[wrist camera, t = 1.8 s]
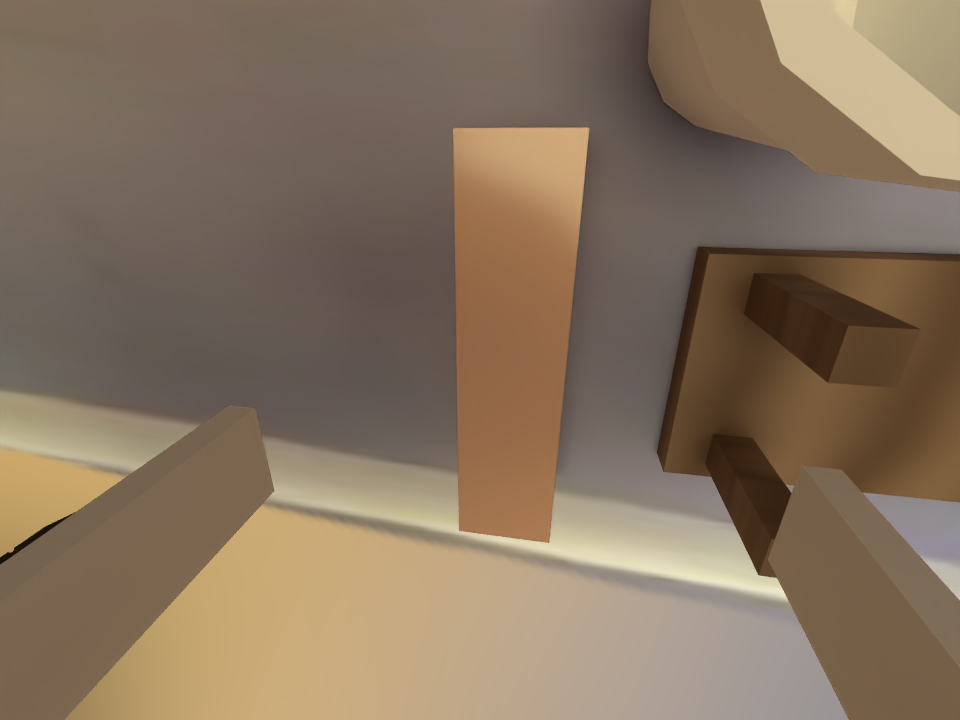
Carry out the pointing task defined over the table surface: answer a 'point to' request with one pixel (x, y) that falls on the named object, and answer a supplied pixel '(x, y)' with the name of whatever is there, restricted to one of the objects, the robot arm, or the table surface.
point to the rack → (816, 378)
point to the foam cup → (820, 80)
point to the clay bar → (513, 318)
